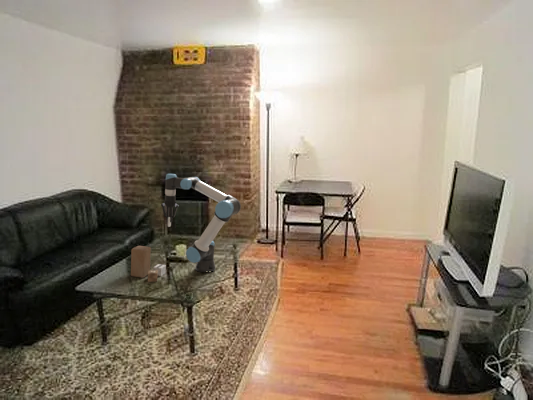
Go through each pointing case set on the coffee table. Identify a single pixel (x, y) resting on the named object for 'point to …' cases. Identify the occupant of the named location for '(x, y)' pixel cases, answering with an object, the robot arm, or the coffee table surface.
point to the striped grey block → (160, 269)
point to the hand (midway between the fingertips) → (169, 226)
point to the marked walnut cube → (152, 275)
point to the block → (140, 261)
